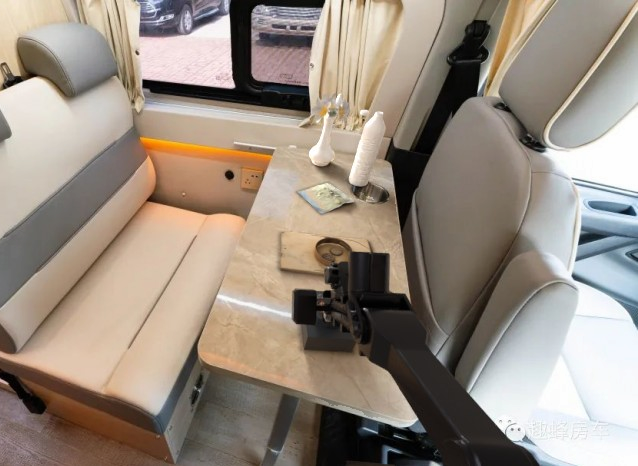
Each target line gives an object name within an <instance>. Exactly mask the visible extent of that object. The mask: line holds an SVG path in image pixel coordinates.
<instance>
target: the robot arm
mask: <svg viewBox="0 0 638 466" xmlns="http://www.w3.org/2000/svg"><path fill="white" fill-rule="evenodd" d="M390 271H391V255H390V253H389V252H373V251H372V252H355V251H349V254H348V261H341V262H339V263H330V265H329V267H326V268H325V269H324V275H323V277H324V284H325V285H326V286H327V285H328V286H330V289H325V290H323V291H324V292H323V294H322V298H318V297H317V293H316V291H317V290H316V289H313V288H299V287H298V288H297V287H296V288H294V289H293V290H292V291H291V316H290V317H291V321H293V323H294V324H295V325H300V326H301V325H315V324H316V314H317V311H322V321H323V322H325V323H333V326H334V327H340V331H341V332H342V333H352V335H353V339H354V340H355V342H356V345H358V355H359V357H364V358H365V357H366V358H367V360H368V361H369V362H370V363H372V364H373V365H376V366H377V367H379V368H381V369H383V370H384V371H387V372H388V374H389V375H390V376H391V378H392V380H393V381H394V383H395V384H396V386H397V388H398V389H399V390H400V392H401V394H402V396H403V397H404V398H405V400H406V401H407V404H408V405H409V407H410V408H411V410H412V411H413V413H414V415H415V416H416V418H417V419H418V421H419V422H420V424H421V426H422V427H423V429H424V431H425V432H426V434H427V435H428V438H429V439H430V440H431V442H432V443H433V445H434V447H435V449H436V450H437V451H438V453H439V455H440V457H441V461H442V466H541V465H540V463H539V462H538V460H537V458H536V457H535V456H534V455H533V453H532V452H531V451H530V450H528V449H527V448H526V447H525V446H523V445H521V444H518V443H515V442H514V441H512V439H510V438H509V437H508V436H507V434H506V433H504V431H503V430H502V429H501V428H500V427H499V426H498V425H497V423H496V422H495V421H494V420H493V419H492V418H491V417H490V416H489V415H488V414H487V412H486V411H485V410H484V409H483V408H482V407H481V406H480V405H479V403H477V401H476V400H475V399H474V398H473V396H471V395H470V393H469V392H468V391H467V390H466V389H465V388H464V387H463V385H462V384H461V383H460V382H459V381H458V379H457V378H455V376H453V374H452V373H451V372H450V371H449V370H448V368H447V367H446V366H445V365H444V364H443V363H442V362H441V361H440V360H439V358H437V356H436V355H435V354H434V353H433V351H432V349H430V346H429V345H428V341H429V334H430V333H429V331H428V330H427V328H426V327H425V325H424V324H423V322H422V321H421V320H420V318H419V316H418V314H417V312H416V310H415V309H414V306H413V305H412V303H411V301H410V299H409V297H408V296H407V293H403V292H394V291H393V292H392V291H390V279H391V278H390V277H391V276H390V273H391V272H390ZM319 302H320V303H321V302H322V304H317V303H319ZM345 464H346V465H345ZM345 464H343V466H396V465H395V464H390V463H389V464H388V463H378V462H366V461H356V460H345Z"/></svg>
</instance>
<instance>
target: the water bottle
mask: <svg viewBox="0 0 638 466" xmlns="http://www.w3.org/2000/svg"><path fill="white" fill-rule="evenodd" d="M359 115H361V116H364V117H366V116H369V115H370V110H368V109H361V110H360V114H359ZM386 130H387V127H386V123H385V121H384V112H383V111H381V110H380V111H379V110H377V111H375V113H374V115H373V116H372V117H371V118H370V119H369V120H368V121H367V122H366V123H365V125H364V126H363V129H362V133H361V136H360V139H359V143H358V146H357V150H356V153H355V156H354V160H353V164H352V167H351V170H350V174H349V177H348V182H349V184H351V185H353V186H355V187H366V186H367V185H368V183H369V182H370V181H369V180H370V177H371V175H372V172H373V169H374V166H375V163H376V159H377V157H378V154H379V151H380V147H381V145H382V143H383V142H382V141H383V138H384V135H385V134H386Z"/></svg>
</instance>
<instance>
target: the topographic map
mask: <svg viewBox="0 0 638 466" xmlns="http://www.w3.org/2000/svg"><path fill="white" fill-rule="evenodd" d="M297 193H298V194H299V195H300V196H301V197H302V198H303V199H304V200H305V201H306V202H307V203H309V204H310V206H311V207H313V208H314V209H315V210H316V211H317V212H318V213H319V214H320V215H322V214H327V213H329V212H331V211H332V210H335V209H337V208H340V207H342V205H343V204H348V203H355V200H354V199H353V198H351V197H350V196H349V195H347V194H346V193H344V192H343V191H342V190H340V189H339V188H337V187H335V186H334V185H332V184H331V183H330V182H326V183H322V184H317V185H315V186H312V187H308V188H306V189H302V190H299V191H297Z"/></svg>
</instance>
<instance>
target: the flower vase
mask: <svg viewBox="0 0 638 466" xmlns="http://www.w3.org/2000/svg"><path fill="white" fill-rule="evenodd" d="M336 96H337V93H332V94H331V95H330V96H329V95H328V94H327V93H323V94H322V96H321V98H320V97H319V96H318V97H316V101H315V103H314V106H312V107H311V109H310V112H311V114H310V115H309V119H310V118H311V117H313V116H316V118H315V123H316V124H317V123H319V122H320V121H321V120H322V119H324V121H323V127H322V131H321V135H320V139H319V141H318V143H317V144H316V145H314V146H313V147H312V148H311V149H310V150H309V158H310V160H311V163H312V164H313V165H314V166H317V167H326V166H328V165H329V164H330V163H331V162H333V160H334V159H335V156H336V155H335V154H336V153H335V151H334V149H333V147H332V146H331V135H332V129H333V126H334V123H335V120H336V118H338V121H339V122H341V121H343V122H344V123H345V124H347V123H348V117H347V116H349V114H350V113H351V109H350V103H349V102H348V101H347V99H344V94H343V93H339V94H338V96H337V97H336ZM335 97H336V99H335ZM343 99H344V100H343Z"/></svg>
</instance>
